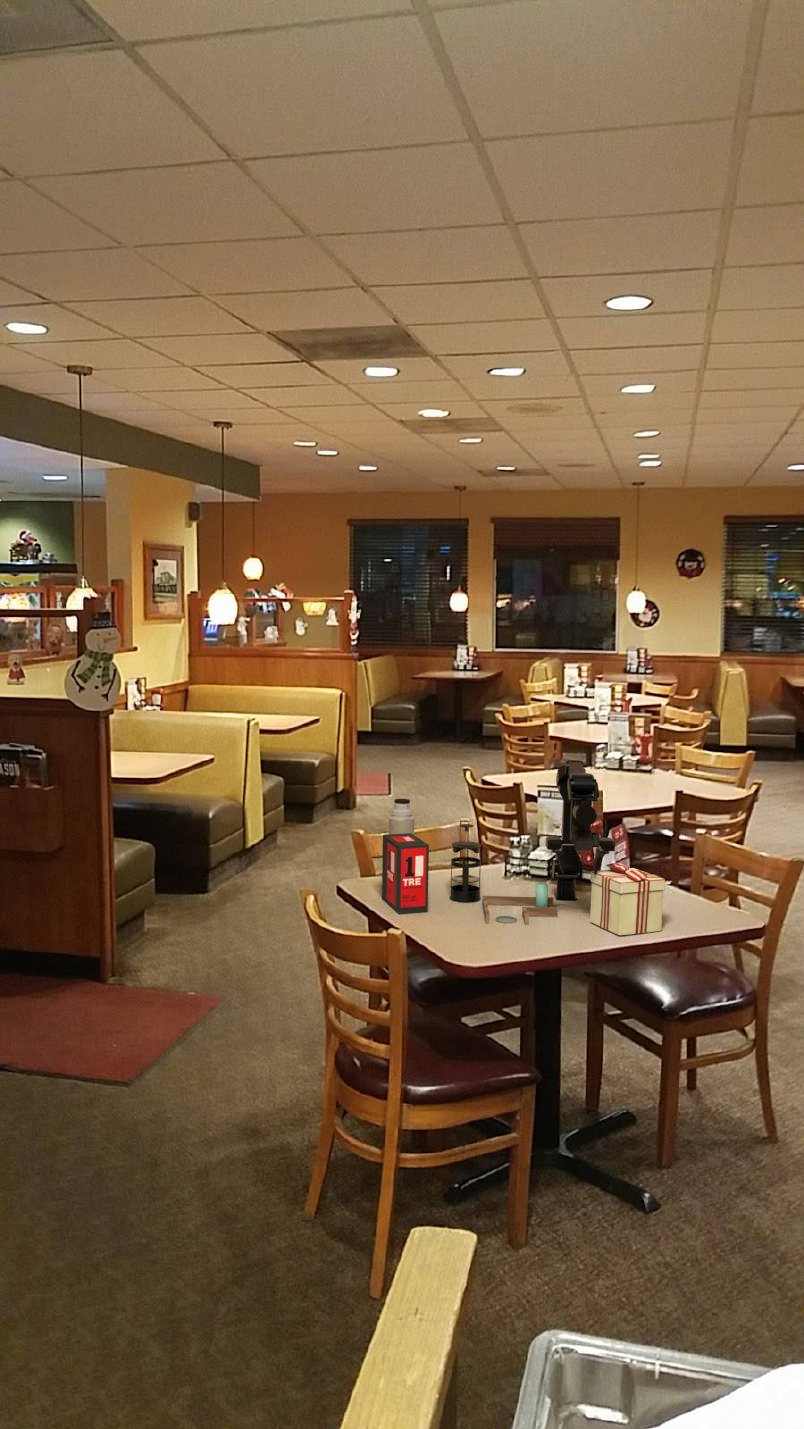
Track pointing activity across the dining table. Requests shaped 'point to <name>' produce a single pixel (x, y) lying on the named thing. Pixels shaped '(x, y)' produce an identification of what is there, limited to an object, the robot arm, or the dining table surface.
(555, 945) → the dining table surface
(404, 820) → the thermos bottle
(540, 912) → the channel
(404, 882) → the cleaning product box
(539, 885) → the peg
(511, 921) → the pad
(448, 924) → the dining table surface
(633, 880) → the gift box
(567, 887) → the robot arm
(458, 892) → the french press
